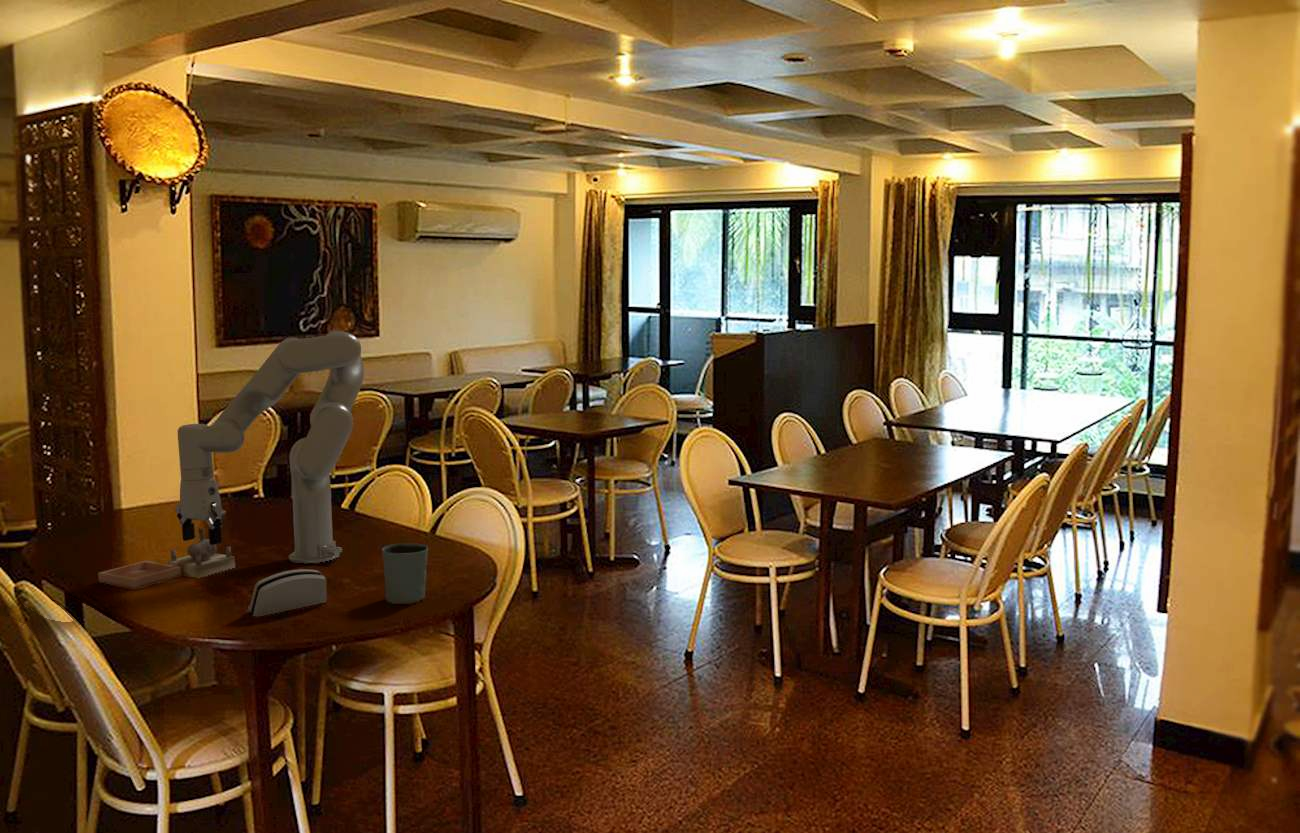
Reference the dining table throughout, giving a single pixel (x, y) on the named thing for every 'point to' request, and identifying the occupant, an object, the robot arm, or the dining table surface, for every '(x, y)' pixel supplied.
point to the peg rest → (203, 564)
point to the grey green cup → (405, 572)
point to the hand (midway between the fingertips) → (202, 541)
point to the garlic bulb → (202, 548)
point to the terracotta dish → (139, 574)
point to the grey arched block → (288, 592)
